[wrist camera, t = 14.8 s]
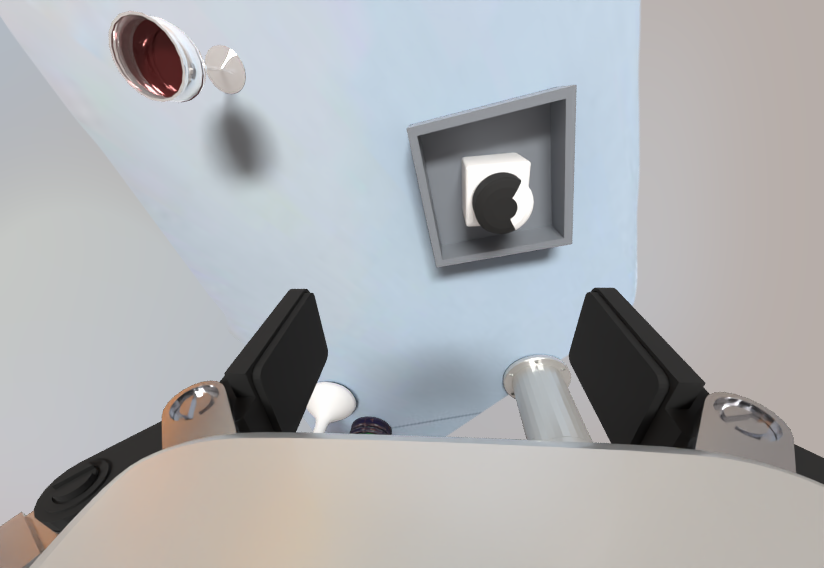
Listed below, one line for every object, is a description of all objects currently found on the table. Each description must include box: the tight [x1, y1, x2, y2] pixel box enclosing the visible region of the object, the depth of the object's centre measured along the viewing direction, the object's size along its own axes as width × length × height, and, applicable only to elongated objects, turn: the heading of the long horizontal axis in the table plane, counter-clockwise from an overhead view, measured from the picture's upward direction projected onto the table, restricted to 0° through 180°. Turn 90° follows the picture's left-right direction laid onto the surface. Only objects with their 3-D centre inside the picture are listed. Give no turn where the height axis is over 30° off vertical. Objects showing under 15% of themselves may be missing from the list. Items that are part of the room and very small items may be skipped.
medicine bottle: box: [462, 153, 534, 234], centre depth 37 cm, size 7×7×12 cm
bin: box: [407, 85, 576, 267], centre depth 40 cm, size 18×18×6 cm
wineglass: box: [109, 11, 246, 102], centre depth 33 cm, size 7×7×12 cm
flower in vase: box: [307, 382, 356, 433], centre depth 57 cm, size 13×11×25 cm
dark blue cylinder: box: [350, 417, 392, 435], centre depth 67 cm, size 10×10×15 cm
